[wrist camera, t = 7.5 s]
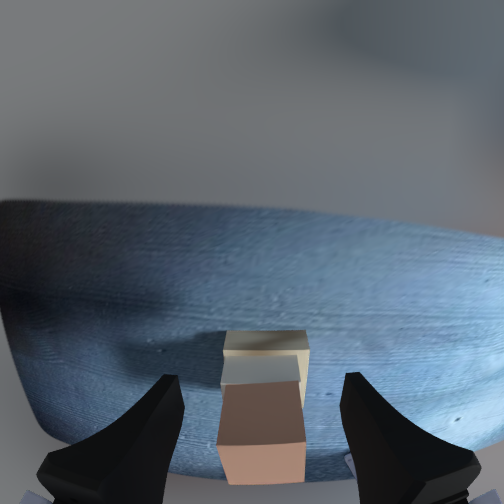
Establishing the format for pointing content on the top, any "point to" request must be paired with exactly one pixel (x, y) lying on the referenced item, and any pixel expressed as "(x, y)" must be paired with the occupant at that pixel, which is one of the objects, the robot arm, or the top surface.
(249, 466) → the terracotta block
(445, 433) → the top surface
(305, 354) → the tower base slab
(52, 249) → the top surface
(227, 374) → the tower top slab
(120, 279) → the top surface
